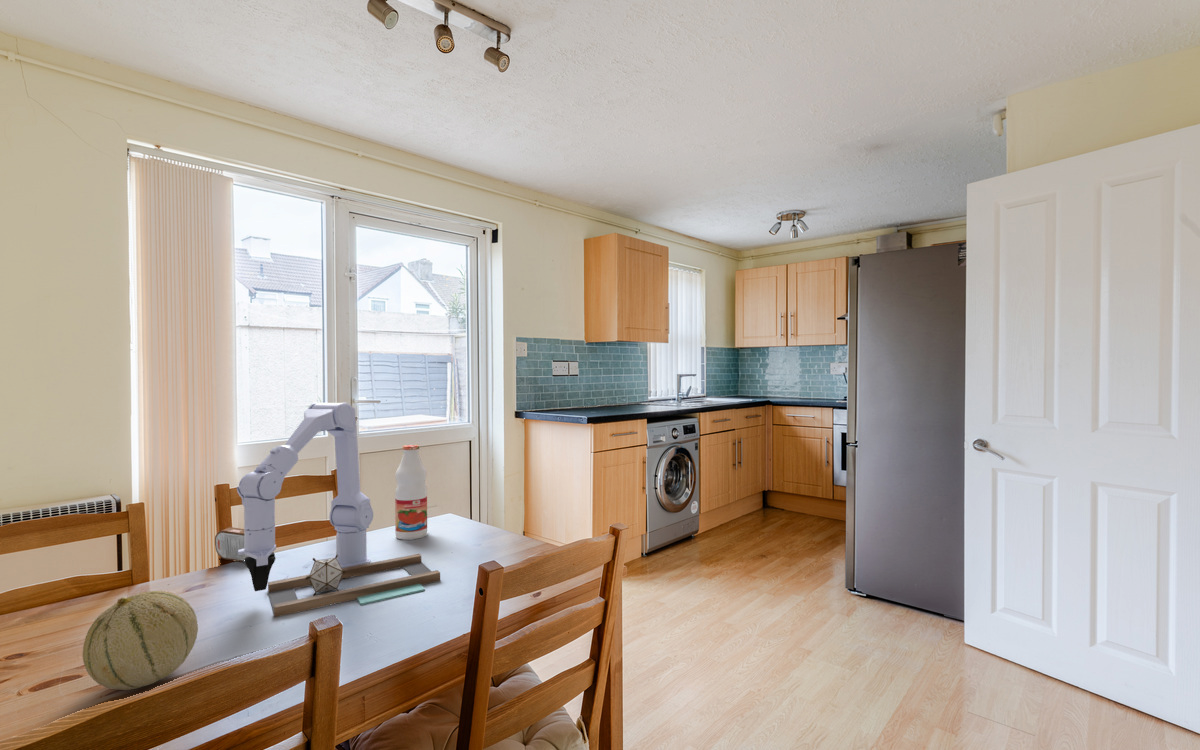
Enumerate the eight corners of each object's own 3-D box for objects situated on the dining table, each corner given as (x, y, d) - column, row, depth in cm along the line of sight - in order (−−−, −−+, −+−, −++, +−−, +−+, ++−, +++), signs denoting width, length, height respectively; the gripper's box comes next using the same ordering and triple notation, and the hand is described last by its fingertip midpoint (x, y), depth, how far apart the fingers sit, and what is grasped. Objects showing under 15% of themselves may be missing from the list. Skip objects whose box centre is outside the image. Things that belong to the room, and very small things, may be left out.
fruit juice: (423, 529, 180) (422, 442, 180) (430, 537, 172) (430, 446, 172) (392, 534, 175) (391, 444, 175) (398, 542, 167) (398, 448, 167)
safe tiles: (339, 571, 143) (339, 569, 143) (396, 560, 151) (396, 559, 151) (360, 605, 122) (360, 603, 122) (424, 590, 130) (424, 588, 130)
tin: (263, 561, 151) (263, 530, 151) (253, 565, 148) (252, 533, 148) (223, 555, 156) (223, 525, 156) (212, 559, 153) (211, 528, 153)
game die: (330, 610, 129) (332, 584, 123) (296, 596, 129) (296, 570, 123) (353, 578, 136) (355, 553, 131) (320, 566, 136) (321, 540, 131)
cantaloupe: (219, 665, 98) (218, 580, 97) (128, 716, 83) (127, 616, 83) (155, 654, 101) (154, 572, 101) (58, 700, 87) (57, 605, 87)
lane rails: (268, 590, 131) (268, 582, 131) (419, 561, 150) (419, 553, 150) (274, 617, 117) (274, 607, 117) (440, 580, 136) (440, 572, 136)
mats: (268, 593, 129) (268, 592, 129) (421, 563, 149) (421, 562, 149) (273, 613, 118) (273, 612, 118) (437, 578, 138) (437, 576, 138)
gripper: (236, 522, 126) (237, 583, 126) (239, 538, 114) (239, 605, 114) (273, 518, 130) (273, 576, 130) (279, 532, 118) (279, 597, 118)
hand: (260, 589), depth 122 cm, fingers closed
